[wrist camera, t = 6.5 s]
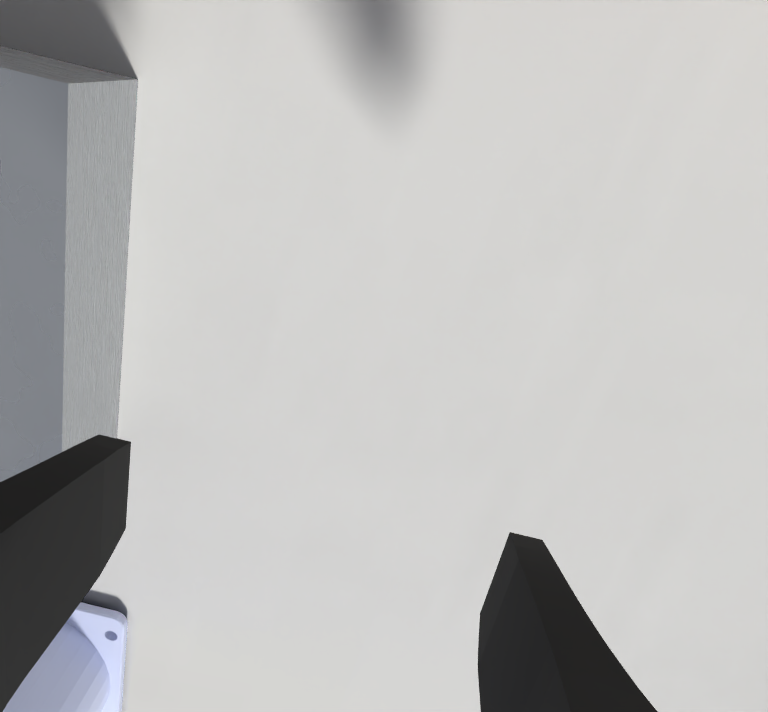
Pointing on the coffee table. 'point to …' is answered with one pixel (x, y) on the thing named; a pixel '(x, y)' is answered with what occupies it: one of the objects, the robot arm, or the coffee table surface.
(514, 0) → the coffee table surface
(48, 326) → the grey metal block
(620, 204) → the coffee table surface
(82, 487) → the robot arm
